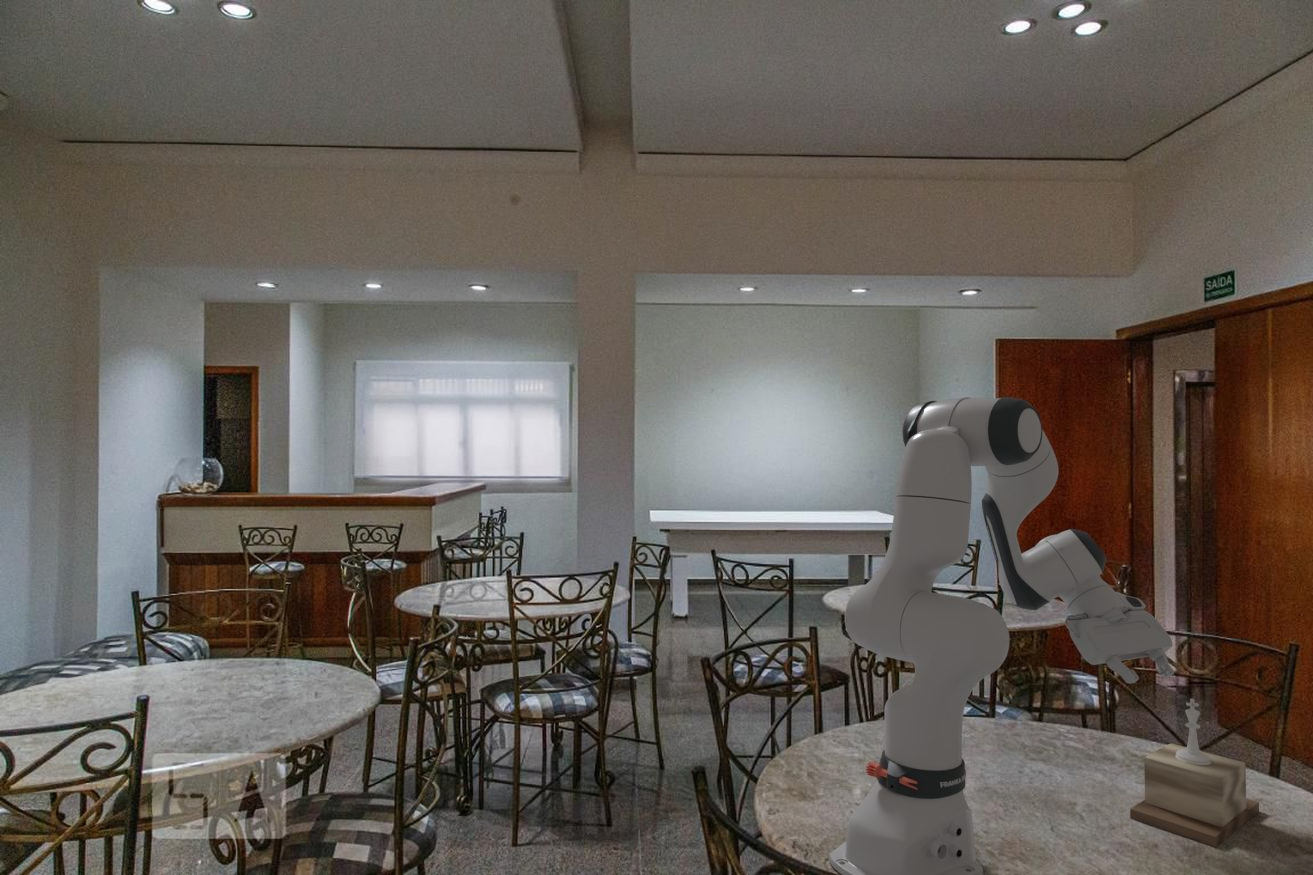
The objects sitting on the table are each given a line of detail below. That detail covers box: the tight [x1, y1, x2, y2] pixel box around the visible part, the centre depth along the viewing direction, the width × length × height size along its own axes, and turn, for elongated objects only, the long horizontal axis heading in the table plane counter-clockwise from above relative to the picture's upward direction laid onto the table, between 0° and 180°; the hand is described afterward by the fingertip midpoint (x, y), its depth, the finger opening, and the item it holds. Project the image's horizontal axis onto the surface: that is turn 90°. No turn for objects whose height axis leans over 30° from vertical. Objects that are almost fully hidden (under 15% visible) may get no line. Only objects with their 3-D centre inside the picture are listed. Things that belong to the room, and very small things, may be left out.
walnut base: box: [1129, 742, 1260, 848], centre depth 130 cm, size 20×12×9 cm, turn 127°
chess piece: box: [1175, 698, 1211, 765], centre depth 131 cm, size 5×5×10 cm
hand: (1151, 678), depth 137 cm, fingers open, 8 cm apart
